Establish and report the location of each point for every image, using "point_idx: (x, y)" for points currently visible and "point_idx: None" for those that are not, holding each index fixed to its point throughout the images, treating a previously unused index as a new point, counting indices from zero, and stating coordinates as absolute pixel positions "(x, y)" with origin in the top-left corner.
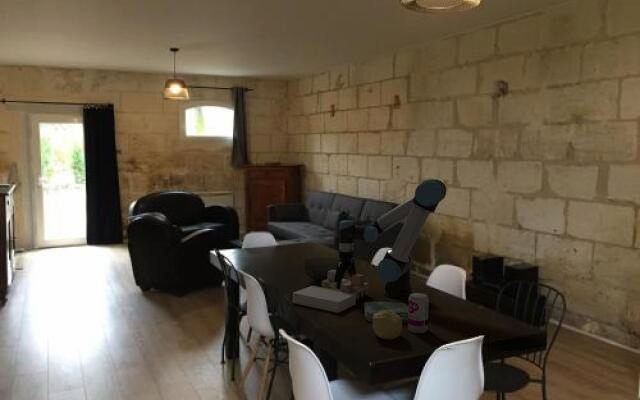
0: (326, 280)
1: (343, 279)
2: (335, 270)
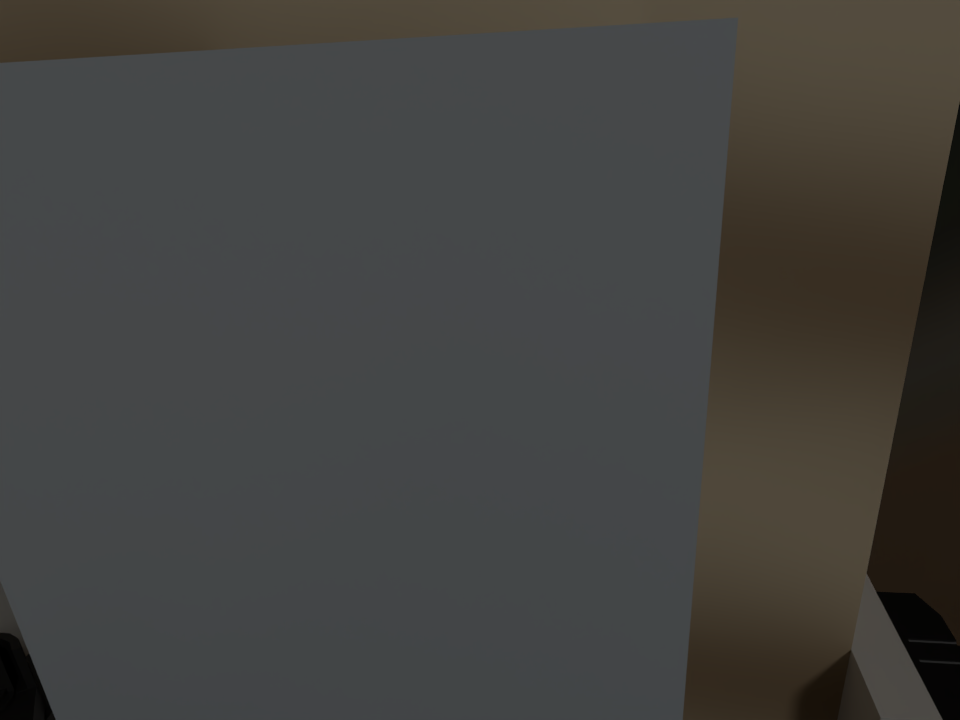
0: (171, 33)
1: (781, 500)
2: (591, 460)
